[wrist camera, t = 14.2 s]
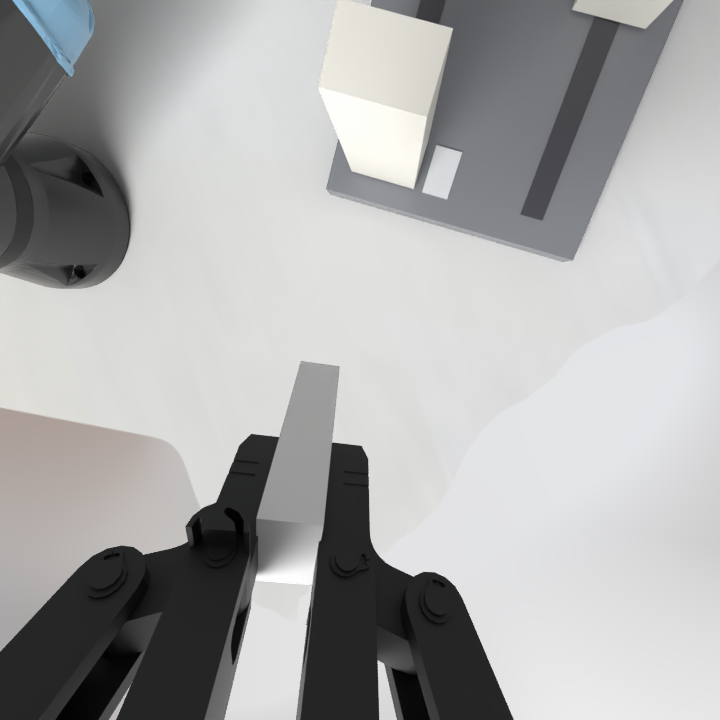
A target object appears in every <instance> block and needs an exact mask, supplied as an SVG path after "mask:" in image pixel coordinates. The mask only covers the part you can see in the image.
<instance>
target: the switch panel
mask: <svg viewBox="0 0 720 720" xmlns="http://www.w3.org/2000/svg"><path fill="white" fill-rule="evenodd" d="M574 2H575V0H372V2H371V6H372V7H375V8H379V9H383V10H387V11H390V12H394V13H398V14H401V15H405V16H409V17H413V18H416V19H420V20H424V21H428V22H431V23H435V24H439V25H443V26H446V27H450V28H453V31H452V36H451V40H450V45H449V49H448V54H447V58H446V63H445V67H444V72H443V76H442V81H441V85H440V90H439V94H438V99H437V104H436V108H435V113H434V117H433V122H432V126H431V131H430V135H429V140H428V144H427V147H426V150H425V154H424V157H423V160H422V164H421V167H420V170H419V174H418V177H417V180H416V184H415V187H414V189H412V188H408V187H405V186H401V185H398V184H394V183H391V182H387V181H384V180H380V179H377V178H373V177H370V176H366V175H363V174H359V173H356V172H352V171H351V168H350V166H349V163H348V161H347V158H346V156H345V153H344V151H343V148H342V146H341V143H340V141H339V139H338V143H337V147H336V151H335V155H334V159H333V163H332V167H331V172H330V176H329V180H328V184H327V188H326V189H327V191H328V192H329V193H330V194H331V195H335V196H338V197H341V198H345V199H348V200H352V201H355V202H359V203H362V204H366V205H369V206H372V207H376V208H379V209H383V210H386V211H390V212H393V213H397V214H400V215H404V216H407V217H410V218H414V219H417V220H421V221H424V222H428V223H431V224H435V225H438V226H441V227H445V228H448V229H452V230H455V231H459V232H462V233H466V234H469V235H472V236H476V237H479V238H483V239H486V240H490V241H493V242H497V243H500V244H503V245H507V246H510V247H514V248H517V249H521V250H524V251H528V252H531V253H535V254H538V255H541V256H545V257H548V258H552V259H555V260H559V261H562V262H564V261H571V260H573V259H574V257H575V254H576V252H577V249H578V247H579V245H580V242H581V240H582V238H583V235H584V233H585V231H586V228H587V226H588V224H589V221H590V219H591V217H592V214H593V212H594V209H595V207H596V205H597V202H598V200H599V198H600V195H601V193H602V191H603V188H604V186H605V184H606V181H607V179H608V177H609V174H610V172H611V169H612V167H613V165H614V162H615V160H616V158H617V155H618V153H619V151H620V148H621V146H622V144H623V141H624V139H625V137H626V134H627V132H628V129H629V127H630V125H631V122H632V120H633V118H634V115H635V113H636V111H637V108H638V106H639V104H640V101H641V99H642V97H643V94H644V92H645V89H646V87H647V85H648V82H649V80H650V78H651V75H652V73H653V71H654V68H655V66H656V64H657V61H658V59H659V57H660V54H661V52H662V49H663V47H664V45H665V42H666V40H667V38H668V35H669V33H670V31H671V28H672V26H673V24H674V21H675V19H676V17H677V14H678V12H679V9H680V7H681V5H682V2H683V0H673V1H672V2H671V3H670V4H669V5H668V6H667V7H666V8H665V9H664V10H663V11H662V13H661V14H660V15H659V16H658V17H657V18H656V19H655V20H654V21H653V22H652V23H651V24H650V25H649V26H648V27H647V28H646V29H643V28H640V27H636V26H632V25H628V24H624V23H621V22H617V21H613V20H609V19H605V18H601V17H598V16H594V15H590V14H586V13H582V12H579V11H575V10H572V7H573V5H574Z"/></svg>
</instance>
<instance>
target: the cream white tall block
mask: <svg viewBox="0 0 720 720" xmlns="http://www.w3.org/2000/svg"><path fill="white" fill-rule="evenodd" d="M672 1H673V0H575V2H574V5H573V7H572V10H575V11H579V12H582V13H586V14H590V15H594V16H598V17H601V18H605V19H609V20H613V21H617V22H621V23H624V24H628V25H632V26H636V27H640V28H643V29H646V28H647V27H648V26H649V25H650V24H651V23H652V22H653V21H654V20H655V19H656V18H657V17H658V16H659V15H660V14H661V13H662V11H663V10H664V9H665V8H666V7H667V6H668V5H669V4H670V3H671V2H672Z"/></svg>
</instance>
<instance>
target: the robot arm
mask: <svg viewBox="0 0 720 720" xmlns="http://www.w3.org/2000/svg"><path fill="white" fill-rule="evenodd" d="M94 26H95V19H94V13H93V10H92V7H91V4H90V2H89V0H0V273H3V274H6V275H9V276H12V277H16V278H19V279H22V280H25V281H29V282H32V283H35V284H38V285H42V286H45V287H51V288H58V289H77V288H87V287H91V286H94V285H97V284H99V283H101V282H103V281H104V280H106V279H107V278H108V277H110V276H111V275H112V274H113V273H114V272H115V270H116V269H117V268H118V266H119V265H120V263H121V261H122V259H123V257H124V255H125V252H126V249H127V244H128V238H129V219H128V213H127V208H126V204H125V201H124V198H123V196H122V193H121V191H120V189H119V187H118V185H117V183H116V182H115V180H114V178H113V177H112V175H111V174H110V173H109V171H108V170H107V169H106V168H105V167H104V166H103V165H102V164H101V163H100V162H99V161H98V160H97V159H96V158H95V157H93V156H92V155H90V154H89V153H87V152H86V151H84V150H82V149H80V148H78V147H76V146H73V145H71V144H69V143H66V142H64V141H62V140H59V139H56V138H53V137H49V136H45V135H40V134H28V133H26V132H27V131H28V129H29V128H30V127H31V125H32V124H33V122H34V121H35V119H36V118H37V117H38V115H39V114H40V112H41V111H42V110H43V108H44V107H45V105H46V104H47V102H48V101H49V100H50V98H51V97H52V95H53V94H54V93H55V91H56V90H57V88H58V87H59V85H60V84H61V83H62V81H63V80H64V78H65V77H66V76H67V75H68V76H69V77H72V76H73V75H74V72H75V71H74V68H73V66H74V64H75V63H76V61H77V60H78V58H79V56H80V55H81V53H82V51H83V50H84V48H85V46H86V45H87V43H88V41H89V40H90V38H91V36H92V35H93V31H94ZM339 367H340V366H333V365H325V364H318V363H311V362H303V361H301V363H300V366H299V370H298V373H297V377H296V380H295V384H294V387H293V391H292V394H291V398H290V401H289V405H288V409H287V412H286V416H285V419H284V423H283V426H282V430H281V433H280V437H272V436H264V435H255V434H251V435H250V436H249V437H248V438H247V439H246V440H245V441H244V442H243V443H242V444H241V445H240V446H239V448H238V451H237V453H236V456H235V458H234V462H233V463H232V465H231V468H230V470H229V474H228V475H227V478H226V480H225V482H224V485H223V487H222V490H221V492H220V495H219V497H218V500H217V502H216V503H214V504H212V505H209V506H206V507H204V508H202V509H201V510H200V511H199V512H197V513H196V514H195V515H193V517H192V518H191V519H190V521H189V522H188V524H187V525H186V532H187V537H188V542H187V543H185V544H183V545H181V546H178V547H175V548H172V549H168V550H163V551H159V552H154V553H150V554H145V555H143V554H142V553H141V552H139V551H138V550H137V549H135V548H134V547H128V546H118V547H113V548H109V549H106V550H104V551H102V552H100V553H98V554H96V555H94V556H92V557H91V558H90V559H89V560H88V561H86V562H85V563H84V564H83V565H82V566H80V567H79V568H78V569H77V571H76V572H75V573H74V574H73V575H72V576H71V577H70V578H69V579H68V580H67V581H66V582H65V583H64V584H63V586H61V588H60V589H59V590H58V591H57V592H56V593H55V594H54V595H53V596H52V597H51V598H50V599H49V600H48V601H47V603H46V604H45V605H44V606H43V607H42V608H41V609H40V610H39V611H38V612H37V613H36V614H35V615H34V617H33V618H32V619H31V620H30V621H29V622H28V623H27V624H26V625H25V626H24V627H23V628H22V629H21V631H19V632H18V634H17V635H16V636H15V637H14V638H13V639H12V640H11V641H10V642H9V643H8V644H7V645H6V646H5V648H3V650H2V651H1V652H0V720H109V718H110V717H111V715H112V714H113V712H114V710H115V709H116V707H117V706H118V704H119V702H120V701H121V699H122V697H123V696H124V694H125V693H126V691H127V690H128V688H129V686H130V685H131V686H130V689H129V691H128V694H127V696H126V698H125V701H124V703H123V705H122V708H121V710H120V712H119V715H118V717H117V719H116V720H224V718H225V714H226V709H227V705H228V701H229V696H230V692H231V688H232V684H233V680H234V676H235V672H236V667H237V663H238V659H239V655H240V651H241V646H242V642H243V638H244V634H245V629H246V625H247V621H248V617H249V613H250V609H251V594H252V590H253V586H254V582H255V578H256V581H268V582H280V583H292V584H304V585H312V592H311V602H310V607H309V613H308V618H307V624H306V625H307V630H306V639H305V647H304V656H303V665H302V674H301V682H300V690H299V699H298V707H297V716H296V720H379V698H378V669H377V668H378V666H377V665H378V664H377V660H379V661H380V662H382V663H384V664H385V668H386V673H387V677H388V682H389V686H390V691H391V695H392V699H393V704H394V708H395V712H396V717H397V720H513V717H512V715H511V713H510V710H509V708H508V705H507V703H506V701H505V698H504V696H503V694H502V691H501V689H500V687H499V684H498V682H497V679H496V677H495V675H494V672H493V670H492V668H491V665H490V663H489V661H488V659H487V656H486V653H485V651H484V649H483V646H482V644H481V642H480V639H479V637H478V635H477V632H476V630H475V628H474V625H473V623H472V620H471V618H470V616H469V613H468V611H467V609H466V606H465V604H464V602H463V599H462V597H461V596H460V594H459V592H458V591H457V589H456V587H455V586H454V585H453V584H452V583H451V582H450V581H449V580H447V579H446V578H445V577H443V576H441V575H439V574H437V573H433V572H423V573H420V574H418V575H416V576H414V577H413V576H411V575H408V574H406V573H404V572H402V571H400V570H398V569H396V568H393V567H392V566H390V565H388V564H386V563H385V562H384V561H383V560H382V559H381V558H380V557H379V556H378V554H377V553H376V551H375V550H374V548H373V545H372V543H371V539H370V523H369V488H368V487H369V476H368V458H367V456H366V454H365V452H364V450H363V448H362V446H357V445H348V444H340V443H332V437H333V427H334V417H335V407H336V397H337V387H338V377H339ZM131 683H132V684H131Z"/></svg>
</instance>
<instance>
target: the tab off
mask: <svg viewBox="0 0 720 720" xmlns="http://www.w3.org/2000/svg"><path fill="white" fill-rule="evenodd" d="M452 31H453V28H450V27H446V26H443V25H439V24H435V23H431V22H428V21H424V20H420V19H416V18H413V17H409V16H405V15H401V14H398V13H394V12H390V11H387V10H383V9H379V8H375V7H372V6H368V5H364V4H360V3H357V2H353V1H349V0H337V3H336V8H335V12H334V17H333V21H332V26H331V30H330V35H329V39H328V44H327V48H326V53H325V57H324V62H323V66H322V71H321V75H320V80H319V84H318V88H319V91H320V93H321V96H322V98H323V101H324V103H325V106H326V108H327V111H328V113H329V116H330V118H331V121H332V123H333V126H334V128H335V131H336V133H337V136H338V138H339V141H340V143H341V146H342V148H343V151H344V153H345V156H346V158H347V161H348V163H349V166H350V168H351V171H352V172H356V173H359V174H363V175H366V176H370V177H373V178H377V179H380V180H384V181H387V182H391V183H394V184H398V185H401V186H405V187H408V188H412V189H414V187H415V184H416V180H417V177H418V174H419V170H420V167H421V164H422V160H423V157H424V154H425V150H426V147H427V144H428V140H429V135H430V131H431V126H432V122H433V117H434V113H435V108H436V104H437V99H438V94H439V90H440V85H441V81H442V76H443V72H444V67H445V63H446V58H447V54H448V49H449V45H450V40H451V36H452Z"/></svg>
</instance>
